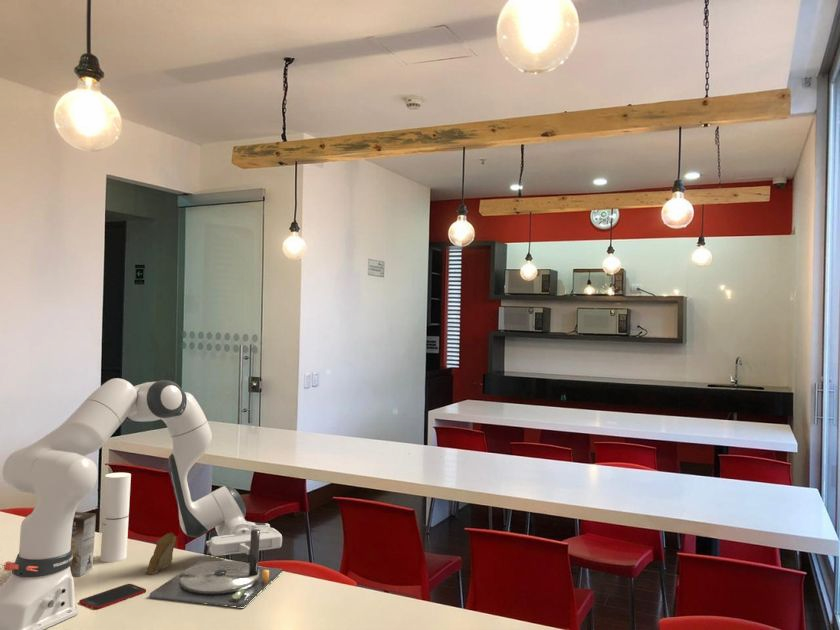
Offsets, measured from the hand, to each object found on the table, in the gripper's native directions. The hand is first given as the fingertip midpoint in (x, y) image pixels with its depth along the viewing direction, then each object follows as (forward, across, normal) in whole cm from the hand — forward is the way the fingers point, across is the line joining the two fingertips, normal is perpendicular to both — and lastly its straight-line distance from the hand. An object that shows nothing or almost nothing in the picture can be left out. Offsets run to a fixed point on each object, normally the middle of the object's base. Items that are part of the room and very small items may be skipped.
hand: (253, 551), depth 183 cm
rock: (-23, -21, +9) cm, 33 cm away
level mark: (+3, +3, +8) cm, 9 cm away
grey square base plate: (-3, -8, +9) cm, 13 cm away
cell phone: (-6, -35, +10) cm, 36 cm away
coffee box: (-30, -43, +9) cm, 53 cm away
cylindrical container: (-37, -32, +9) cm, 50 cm away
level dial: (-3, -8, +8) cm, 11 cm away
